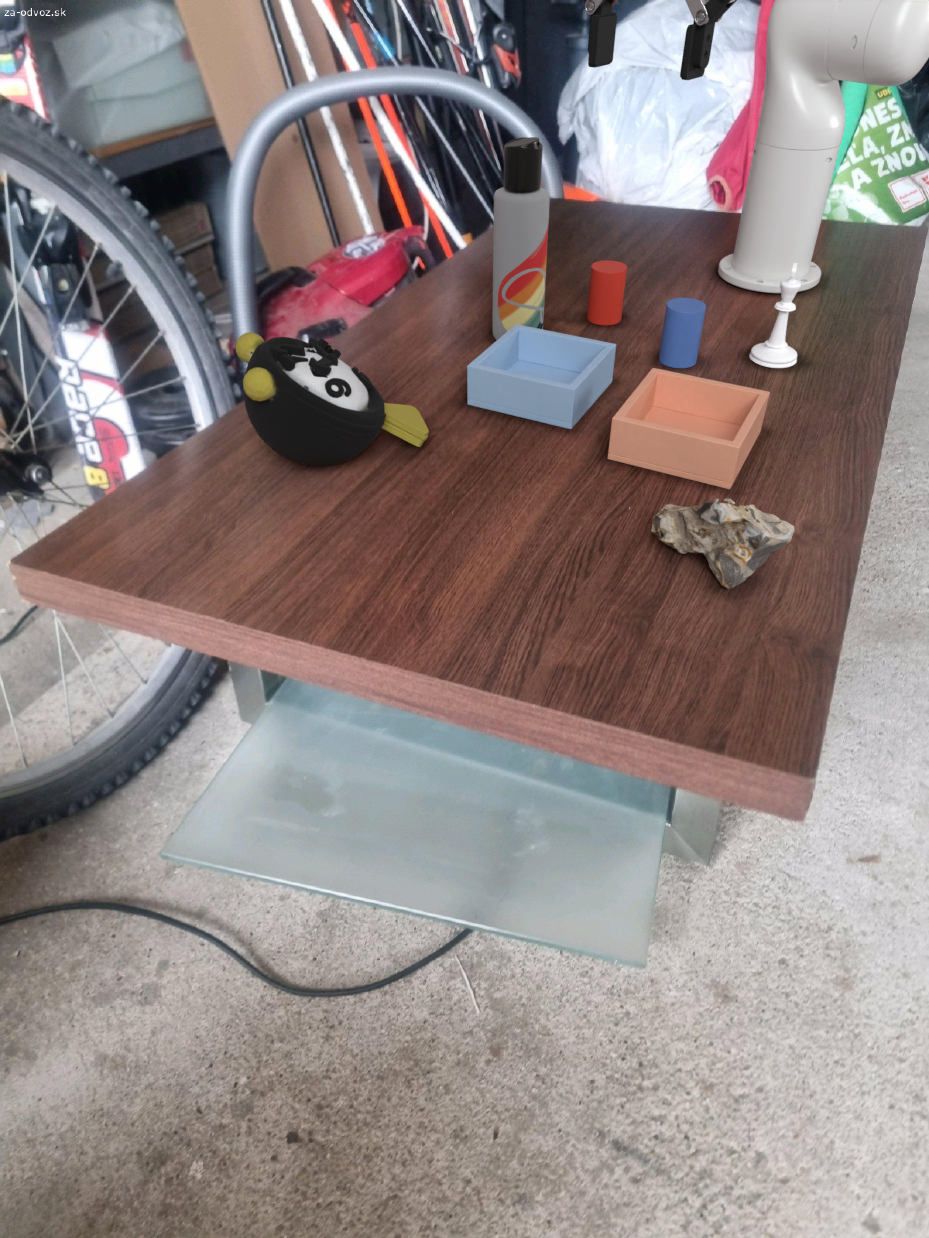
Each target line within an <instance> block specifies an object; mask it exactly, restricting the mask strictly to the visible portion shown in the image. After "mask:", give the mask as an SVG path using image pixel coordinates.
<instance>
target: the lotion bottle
mask: <svg viewBox="0 0 929 1238" xmlns="http://www.w3.org/2000/svg"><path fill="white" fill-rule="evenodd" d="M503 147H504V148H503V187H499V188H498V189H496V190H495V192H494V194H493V241H492V242H493V243H492V244H493V245H492V246H493V247H492V249H493V250H492V252H493V253H492V336H493V338H494V339H495V340H496V341H497V340H498V339H499V338H500V337H501V336H503V335H504V334H505V333H506V332H507V331H508V330H510V329H511V328H512V327H513V326H514V325H516V324H518V325H523V326H528V327H533V328H538V329H543V330H544V318H545V317H544V316H545V301H546V300H545V298H546V278H547V277H546V276H547V259H548V244H549V243H548V242H549V241H548V239H549V224H550V223H549V221H550V202H551V201H550V200H551V199H550V198H551V197H550V191H548V189H546V188H544V187H541V186H542V169H543V150H544V147H543V144H542V142H540V138H539V137H537V136H530V137H527V136H526V137H524V136H523V137H518V138H515V139H511V140H509V141H508V142H506V143H505V144H504V146H503Z"/></svg>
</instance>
